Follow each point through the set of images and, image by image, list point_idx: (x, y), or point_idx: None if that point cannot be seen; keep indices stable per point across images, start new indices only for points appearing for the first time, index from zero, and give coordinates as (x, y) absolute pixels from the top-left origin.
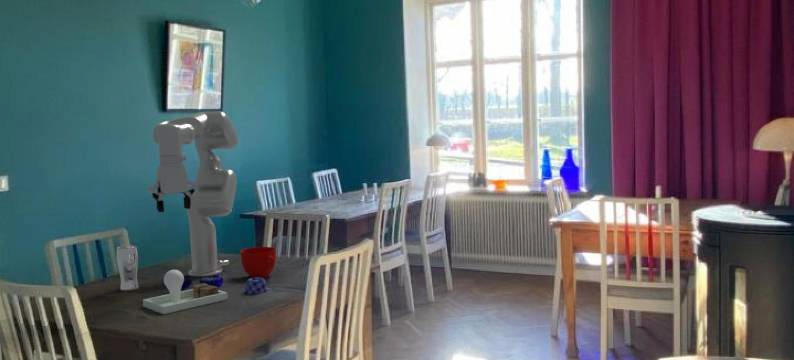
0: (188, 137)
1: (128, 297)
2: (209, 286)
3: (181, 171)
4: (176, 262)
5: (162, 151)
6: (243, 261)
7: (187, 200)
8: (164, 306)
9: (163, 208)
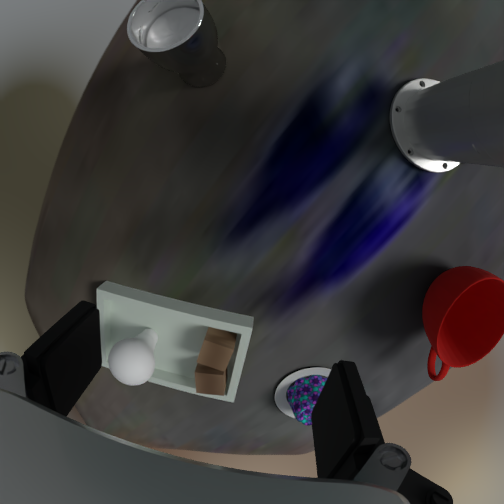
0: None
1: (139, 153)
2: (216, 379)
3: None
4: None
5: None
6: (433, 305)
7: (319, 464)
8: (103, 364)
9: (86, 382)
